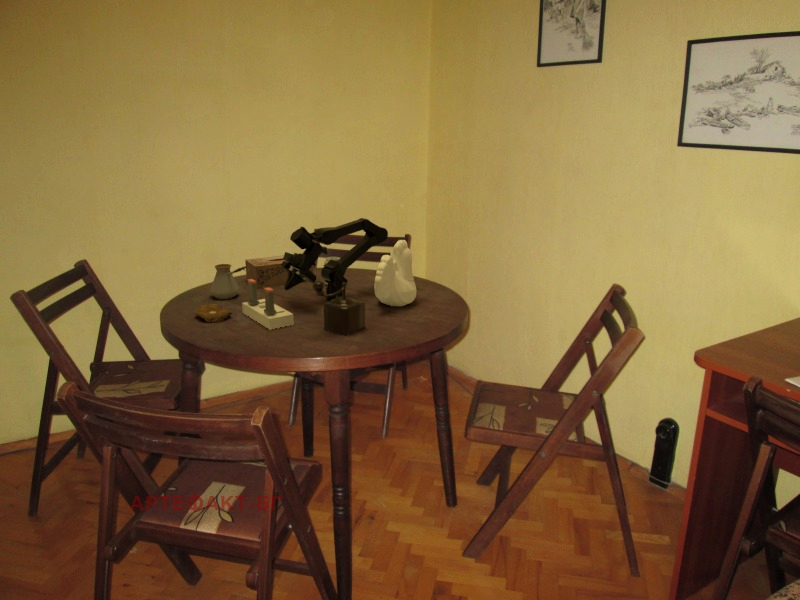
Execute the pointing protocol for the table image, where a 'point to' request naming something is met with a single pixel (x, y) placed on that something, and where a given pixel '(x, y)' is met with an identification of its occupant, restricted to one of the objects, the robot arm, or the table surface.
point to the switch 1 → (252, 292)
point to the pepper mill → (341, 311)
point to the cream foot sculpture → (396, 277)
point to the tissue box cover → (268, 271)
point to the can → (329, 260)
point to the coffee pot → (225, 282)
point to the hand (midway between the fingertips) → (285, 289)
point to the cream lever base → (268, 321)
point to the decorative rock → (212, 313)
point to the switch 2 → (269, 301)
